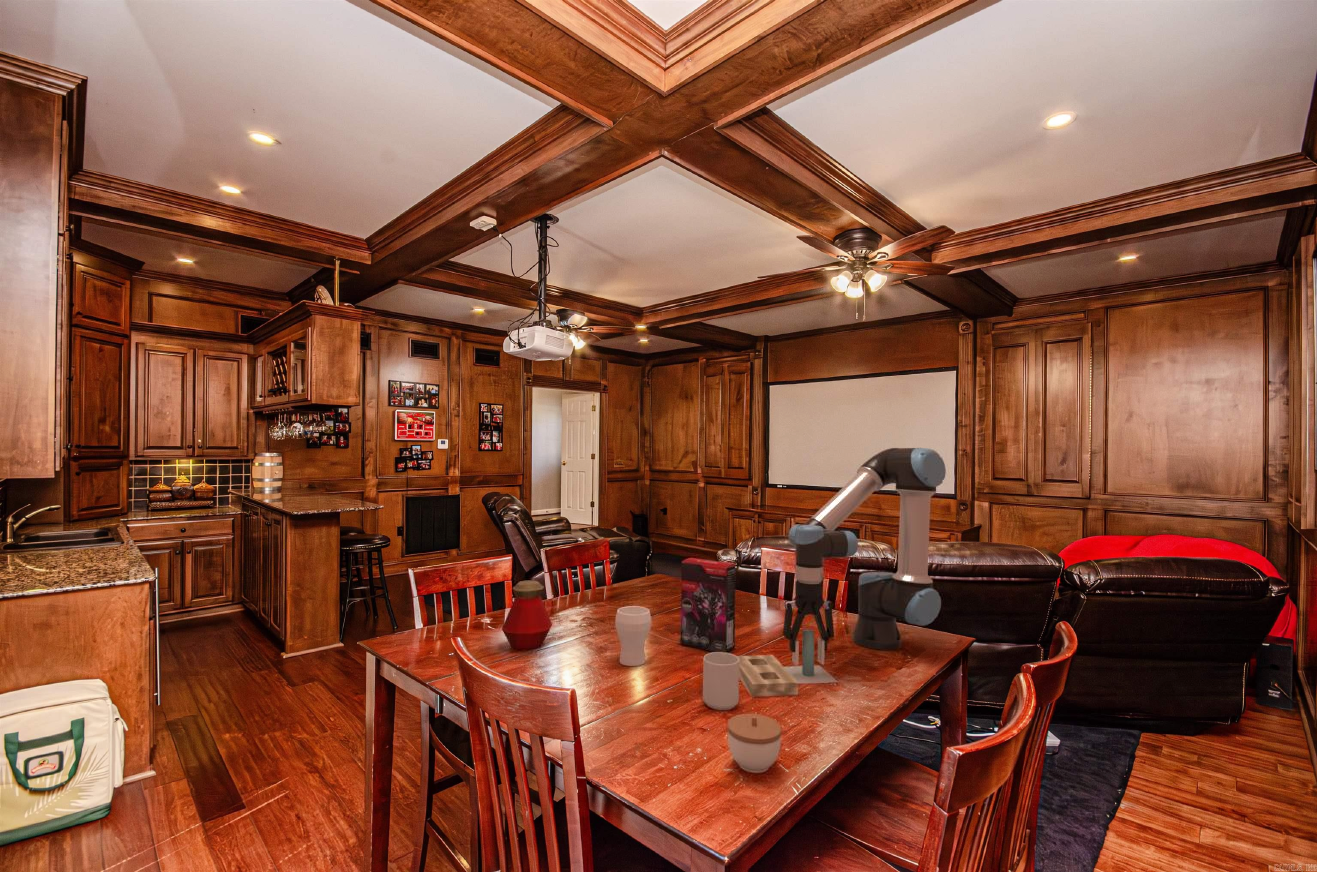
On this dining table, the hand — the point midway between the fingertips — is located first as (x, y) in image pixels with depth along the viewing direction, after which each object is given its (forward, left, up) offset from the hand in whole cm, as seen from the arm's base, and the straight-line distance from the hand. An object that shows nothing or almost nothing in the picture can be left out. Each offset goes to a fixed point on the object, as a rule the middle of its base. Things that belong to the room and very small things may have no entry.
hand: (808, 662), depth 161 cm
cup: (+48, -15, -4) cm, 51 cm away
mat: (0, 0, -4) cm, 4 cm away
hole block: (+14, +3, -4) cm, 15 cm away
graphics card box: (+24, -25, -4) cm, 35 cm away
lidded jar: (+29, +43, -4) cm, 52 cm away
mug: (+28, +14, -4) cm, 31 cm away
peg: (0, 0, -3) cm, 3 cm away
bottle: (+80, -31, -4) cm, 86 cm away
